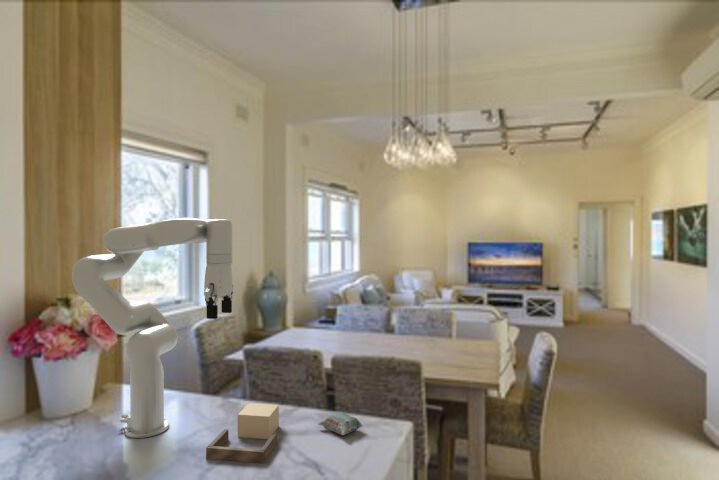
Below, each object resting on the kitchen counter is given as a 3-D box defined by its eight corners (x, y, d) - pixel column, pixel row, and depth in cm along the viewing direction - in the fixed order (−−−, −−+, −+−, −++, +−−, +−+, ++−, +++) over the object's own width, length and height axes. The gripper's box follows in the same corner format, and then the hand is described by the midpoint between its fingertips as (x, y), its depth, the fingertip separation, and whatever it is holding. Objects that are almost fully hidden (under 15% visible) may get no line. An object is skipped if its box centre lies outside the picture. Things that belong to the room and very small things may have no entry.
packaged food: (343, 441, 132) (343, 425, 132) (317, 429, 140) (317, 414, 140) (363, 432, 138) (363, 417, 138) (337, 421, 146) (337, 406, 146)
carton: (237, 437, 134) (237, 414, 134) (248, 424, 143) (248, 403, 143) (269, 439, 133) (269, 416, 133) (278, 426, 142) (278, 404, 142)
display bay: (206, 458, 121) (206, 447, 121) (224, 439, 133) (224, 429, 133) (263, 463, 119) (263, 452, 119) (277, 442, 131) (277, 432, 130)
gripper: (220, 257, 144) (220, 310, 144) (193, 261, 127) (193, 320, 127) (242, 258, 143) (242, 310, 143) (218, 261, 126) (218, 321, 126)
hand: (219, 315), depth 135 cm, fingers open, 9 cm apart
